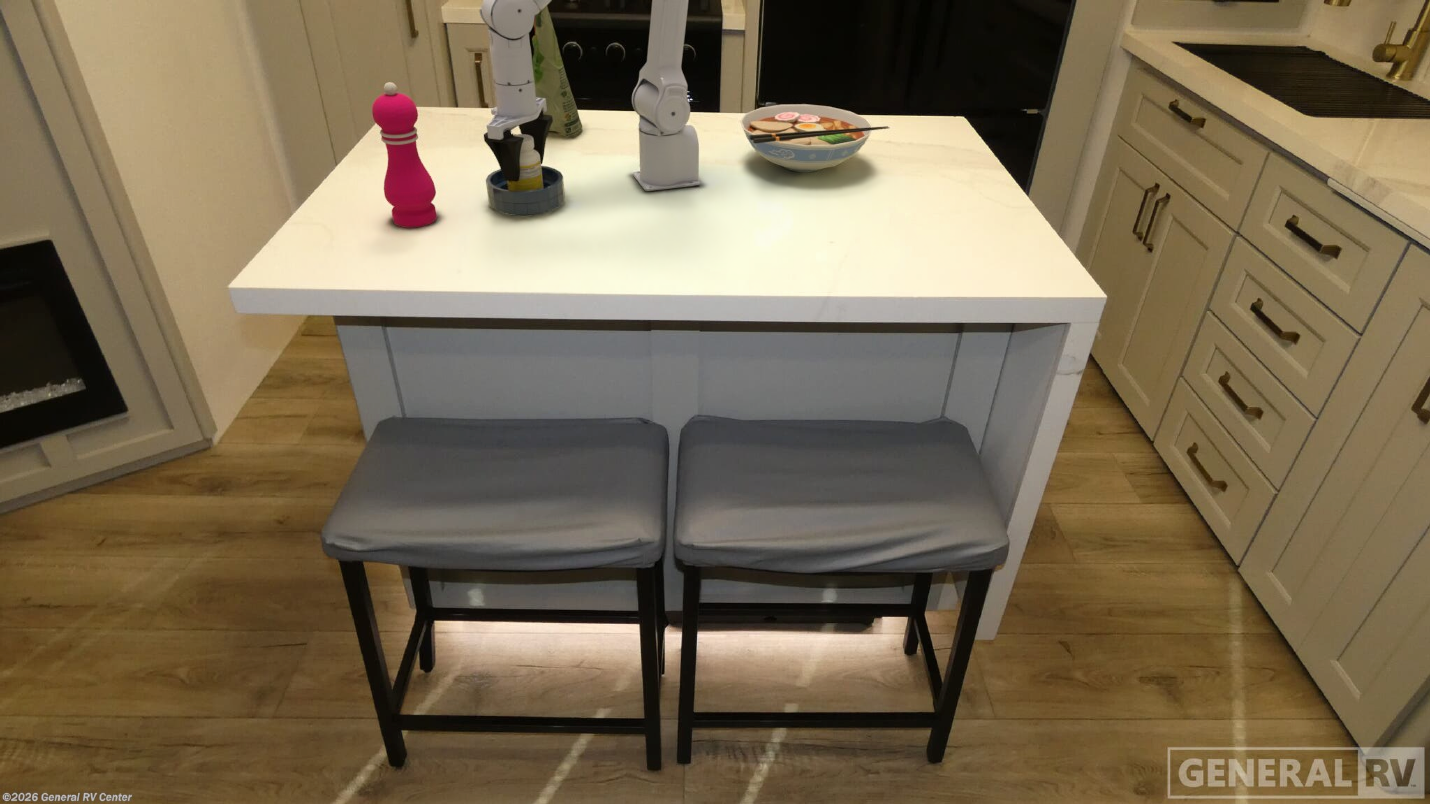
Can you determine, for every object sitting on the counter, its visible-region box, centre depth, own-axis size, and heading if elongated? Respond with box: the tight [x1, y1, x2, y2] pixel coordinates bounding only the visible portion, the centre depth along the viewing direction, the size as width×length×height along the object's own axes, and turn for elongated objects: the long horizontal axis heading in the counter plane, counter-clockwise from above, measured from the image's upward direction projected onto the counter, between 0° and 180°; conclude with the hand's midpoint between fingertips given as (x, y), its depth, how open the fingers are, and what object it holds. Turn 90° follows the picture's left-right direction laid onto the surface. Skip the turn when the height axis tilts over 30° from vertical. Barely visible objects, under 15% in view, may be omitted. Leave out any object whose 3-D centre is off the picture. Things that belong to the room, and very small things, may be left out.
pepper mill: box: [371, 81, 438, 228], centre depth 124 cm, size 7×7×20 cm
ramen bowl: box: [739, 103, 890, 173], centre depth 150 cm, size 25×23×8 cm
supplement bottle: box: [507, 133, 543, 191], centre depth 132 cm, size 5×5×10 cm
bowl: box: [485, 165, 566, 217], centre depth 134 cm, size 12×12×4 cm
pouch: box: [531, 4, 583, 137], centre depth 157 cm, size 11×12×25 cm
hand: (524, 171), depth 133 cm, fingers open, 7 cm apart
